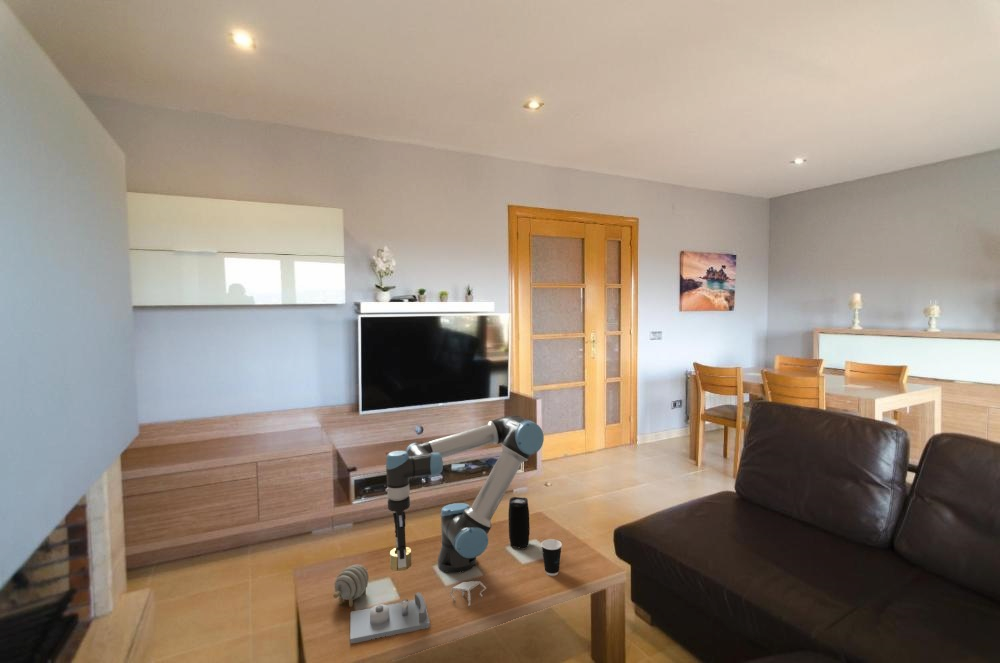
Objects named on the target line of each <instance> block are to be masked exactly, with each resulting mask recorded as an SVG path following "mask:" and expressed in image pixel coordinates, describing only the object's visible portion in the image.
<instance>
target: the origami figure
mask: <svg viewBox="0 0 1000 663" xmlns="http://www.w3.org/2000/svg"><path fill="white" fill-rule="evenodd" d="M478 585H480V586H481V587H482V588H483V589H482V590H481V591H480V592H479V595H480V597H483V594H482V593H483V592H484V591H485V590H486V589H487V587H486V586H485V585H484V583H483V582H482V581H479V580H478V581H476V580H475V581H473V580H472V581H471V580H470V581H462V582H461V583H459V584H456V585H455V586H453V587H452V589H451V590H450V592H449V596H450V597H452V599H453V600H452V601H455V600H456V599H457V598H456V597H455V596H453V595H452V594H453V593H454V591H455V590H456V591H461V594H462V595H461V596H462V597H464V595H465V592H467V601H468V603H467V606H468V607H469V606H471V591H472V590H473V589H475V588H476V587H478Z"/></svg>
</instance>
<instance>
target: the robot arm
mask: <svg viewBox="0 0 1000 663" xmlns="http://www.w3.org/2000/svg"><path fill="white" fill-rule="evenodd" d="M543 432H544V431H543V430H542V428H541V427H540V425H539V424H537V423H535V421H533V420H531V419H527V418H526V417H523V416H521V415H516V414H513V415H506V416H502V417H499V418H496V419H492V420H489V421H488V422H487V424H485V425H482V426H477V427H474V428H471V429H470V428H469V429H467V430H463V431H461V432H460V431H459V432H458V433H454V434H451V435H447V436H443V437H440V438H437V439H434V440H431V441H427V442H423V443H419V442H412V443H410V444H409V445H408V446H407V447H406V450H393V451H390V452H389V453H387V455H386V460H385V461H386V462H385V469H386V471H385V472H386V473H385V474H386V486H387V487H386V488H385V492H387V509H388V511H390V512H392V517H393V523H394V533H395V535H394V538H395V548H396V547H397V548H396V550H397V553H398V568H402V567H406V547H407V545H406V517H407V516H406V512H405V511H406V510H408V509H409V508H410V506H411V497H410V493H411V492H410V491H411V489H410V479H415V478H421V477H427V476H429V477H430V476H433V475H438V474H441V473H442V472H443V469H444V461H443V459H444V458H448V457H450V456H454V455H457V454H460V453H464V452H467V451H471V450H474V449H476V448H481V447H482V446H487V445H490V444H494V445H499V444H501V448H502V450H501V452H500V455H499V456H498V458H497V460H496V462H495V464H494V465H493V467H492V469H491V471H490V473H489V475H488V476H487V478H486V480H485V481H484V483H483V484H482V487H481V488H480V490H479V492H478V494H477V496H476V497H475V498H474V501H473V503H472V504H471V505H470V504H468V503H463V502H456V503H449V504H447V505H444V506H443V507H442V508H441V510H440V511H441V512H440V520H441V521H440V522H441V524H440V525H441V546H440V550H439V553H438V557H437V566H438V568H439V569H440V570H441V571H443V572H445V573H448V574H449V573H450V574H458V573H464V572H468V571H470V570H471V569H473V568H474V567H475V566H476V564H477V558H478V557H479V556H481V555H482V554H483V553H484V552H485V550H486V549H487V548H488V544H489V536H488V534H489V532H490V530H491V528H492V521H491V520H492V518H493V516H494V514H495V513H496V510H497V509H498V507H499V505H500V504H501V501H502V500H503V498H504V496H505V495H506V492H507V490H508V489H509V487H510V485H511V484H512V482H513V480H514V478H515V476H516V475H517V473H518V471H519V469H520V467H521V465H522V463H523V462H527V461H529V459H530V457H531V455H534V454H536V453H538V452H539V451H540V450H541V448H542V447H543V445H544V441H545V438H544V433H543Z"/></svg>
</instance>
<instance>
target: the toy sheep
mask: <svg viewBox="0 0 1000 663" xmlns="http://www.w3.org/2000/svg"><path fill="white" fill-rule="evenodd" d="M336 577H337V578H336V579H335V582H334V592H335V593H334V594H333V598H334V599H338V604H339V605H342V604H343V603H344V600H345V601H348V606H349V607H351V608H352V607H353V606H354V600H356V599H358V598H359V597H361V596H362V595H366V593H367V587H368V583H369V579H370V578H369V573H368V568H365V567H364V566H363V565H361V564H353V565H349V566H348V567H346V568H343V570H342V571H340V572H339V574H338V575H337V576H336Z"/></svg>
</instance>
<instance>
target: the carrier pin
mask: <svg viewBox="0 0 1000 663" xmlns="http://www.w3.org/2000/svg"><path fill="white" fill-rule="evenodd" d="M408 601H409V599H407V598H403V599H401V602H402V616H407V615H408Z"/></svg>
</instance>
